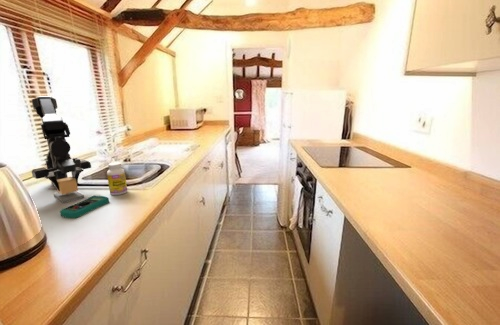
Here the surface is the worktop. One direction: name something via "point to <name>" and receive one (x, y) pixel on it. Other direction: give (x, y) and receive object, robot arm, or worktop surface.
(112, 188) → the supplement bottle
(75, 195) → the post board
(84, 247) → the worktop surface
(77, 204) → the digital multimeter
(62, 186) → the tan wooden block
